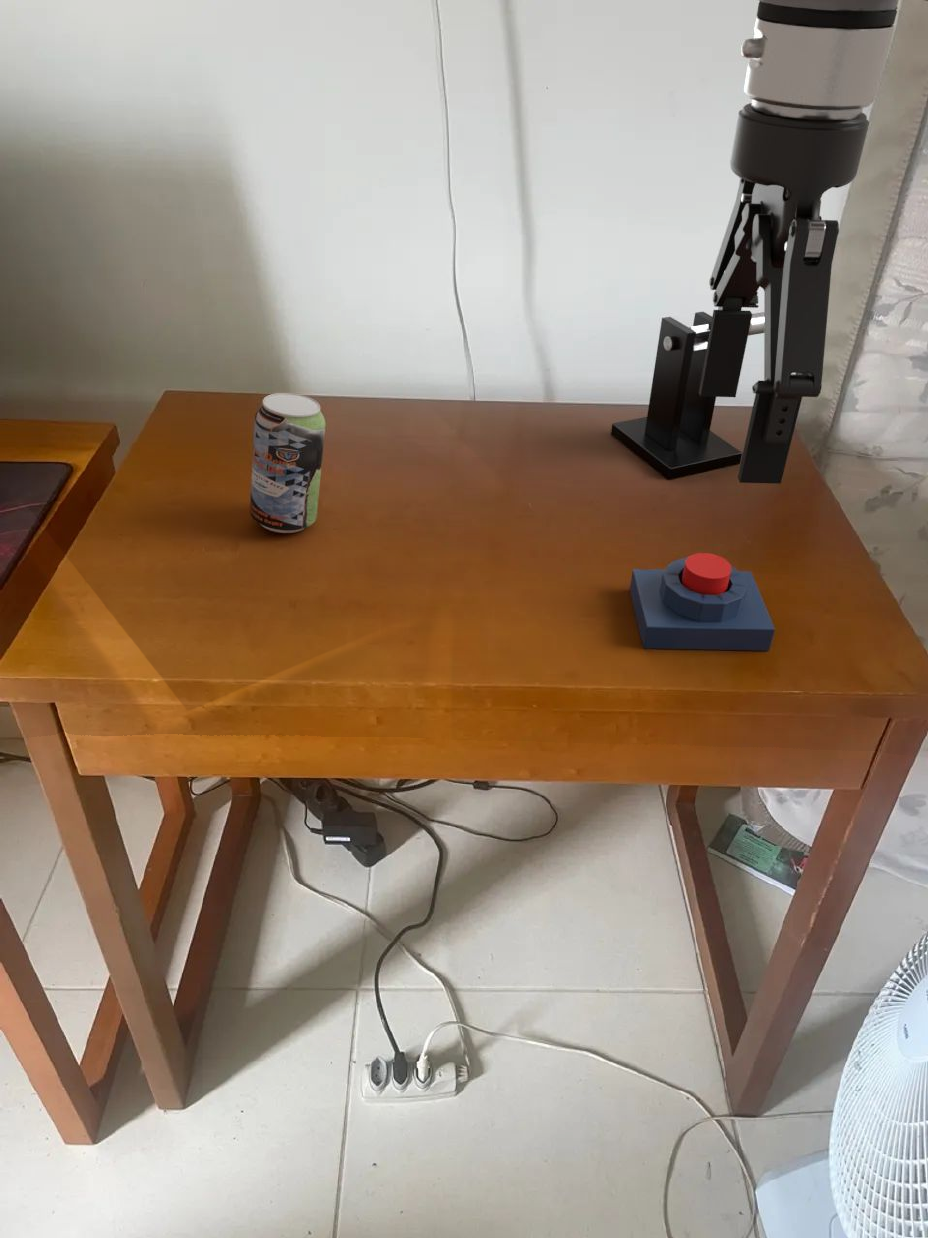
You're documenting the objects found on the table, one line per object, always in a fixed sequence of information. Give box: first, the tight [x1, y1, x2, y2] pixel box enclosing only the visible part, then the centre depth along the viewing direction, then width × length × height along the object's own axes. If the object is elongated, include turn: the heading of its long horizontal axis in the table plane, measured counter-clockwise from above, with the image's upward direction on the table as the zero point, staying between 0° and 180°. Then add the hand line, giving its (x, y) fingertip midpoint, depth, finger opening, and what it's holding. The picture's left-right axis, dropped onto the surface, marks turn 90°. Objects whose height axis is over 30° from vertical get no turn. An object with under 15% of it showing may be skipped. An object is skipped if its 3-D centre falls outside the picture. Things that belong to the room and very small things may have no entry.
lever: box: [688, 311, 764, 353], centre depth 93 cm, size 13×5×2 cm
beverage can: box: [249, 392, 326, 534], centre depth 87 cm, size 6×7×12 cm
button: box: [682, 552, 732, 595], centre depth 78 cm, size 4×4×2 cm
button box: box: [629, 556, 776, 652], centre depth 79 cm, size 10×8×4 cm
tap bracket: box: [610, 311, 743, 480], centre depth 100 cm, size 11×9×14 cm
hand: (736, 434), depth 71 cm, fingers open, 13 cm apart
